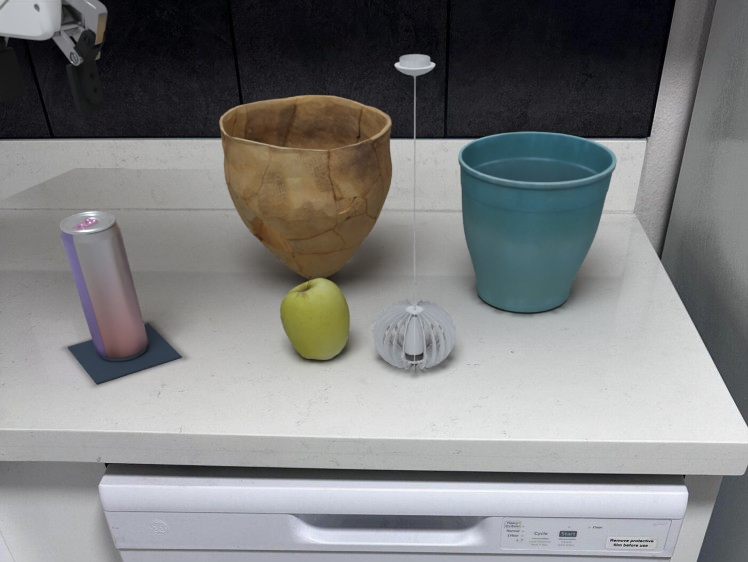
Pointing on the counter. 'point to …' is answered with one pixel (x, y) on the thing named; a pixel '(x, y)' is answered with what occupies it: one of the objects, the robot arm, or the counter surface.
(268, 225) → the bowl
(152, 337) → the mat
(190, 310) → the counter surface
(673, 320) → the counter surface
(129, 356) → the beverage can
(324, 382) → the counter surface
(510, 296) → the flower pot
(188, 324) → the counter surface
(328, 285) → the apple
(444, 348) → the pendant light
